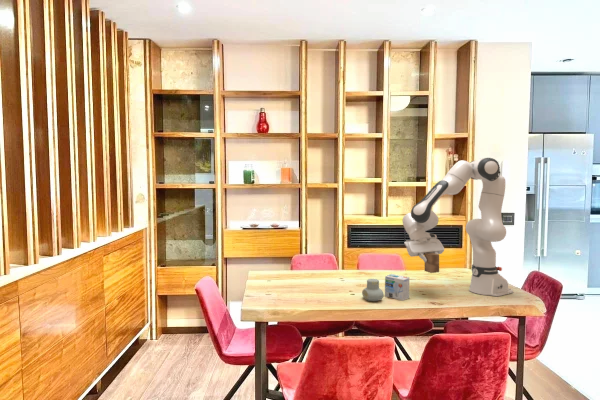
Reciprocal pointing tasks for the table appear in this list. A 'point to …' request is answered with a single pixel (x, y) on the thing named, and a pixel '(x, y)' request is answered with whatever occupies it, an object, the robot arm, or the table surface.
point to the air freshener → (372, 291)
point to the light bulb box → (397, 287)
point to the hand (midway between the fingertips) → (432, 261)
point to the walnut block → (432, 263)
